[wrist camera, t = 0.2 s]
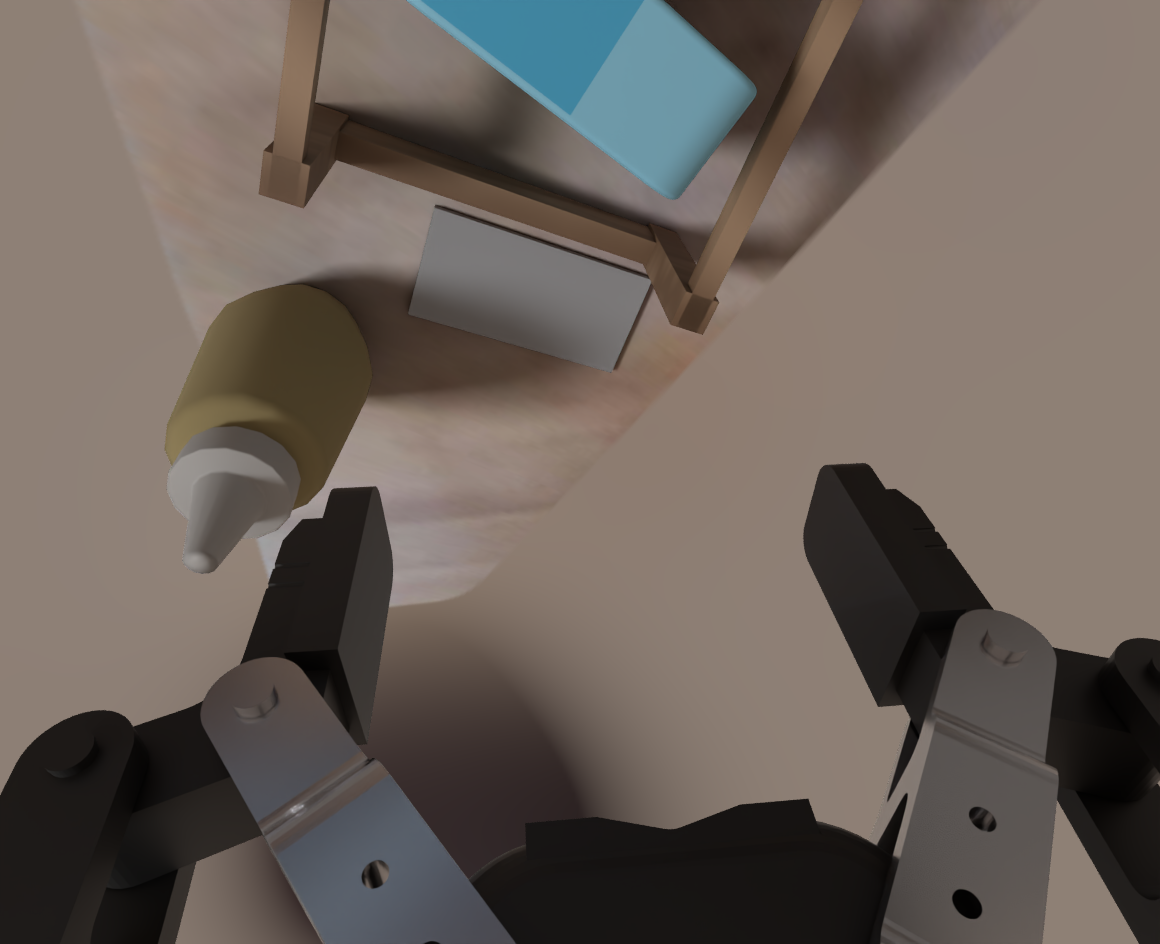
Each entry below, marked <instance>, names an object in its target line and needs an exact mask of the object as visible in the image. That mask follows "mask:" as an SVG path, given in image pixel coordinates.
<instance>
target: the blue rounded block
mask: <svg viewBox="0 0 1160 944" xmlns="http://www.w3.org/2000/svg"><path fill="white" fill-rule="evenodd" d="M406 1H408V2H409V3H410V4H411V5H412V6H414V7H415V8H416V9H417V10H419V11H420V12H421V13H423V14H424V15H425V16H426V17H428V18H429V19H430V20H432V21H433V22H434V23H436V24H437V25H438V26H440V27H441V28H442V29H443V30H445V31H446V32H447V33H449V34H450V35H451V36H453V37H454V38H455V39H457V40H458V41H459V42H461V43H462V44H463V45H464V46H466V47H467V48H468V49H470V50H471V51H472V52H474V53H475V54H476V55H478V56H479V57H480V58H481V59H483V60H484V61H485V62H487V63H488V64H489V65H491V66H492V67H493V68H495V69H496V70H497V71H499V72H500V73H501V74H502V75H504V76H505V77H506V78H508V79H509V80H510V81H512V82H513V83H514V84H516V85H517V86H518V87H519V88H521V89H522V90H523V91H525V92H526V93H527V94H529V95H530V96H531V97H533V98H534V99H535V100H537V101H538V102H539V103H540V104H542V105H543V106H544V107H546V108H547V109H548V110H550V111H551V112H552V113H554V114H555V115H556V116H558V117H559V118H560V119H561V120H563V121H564V122H565V123H567V124H568V125H569V126H571V127H572V128H573V129H575V130H576V131H577V132H578V133H580V134H581V135H582V136H584V137H585V138H586V139H588V140H589V141H590V142H592V143H593V144H594V145H596V146H597V147H598V148H599V149H601V150H602V151H603V152H605V153H606V154H607V155H609V156H610V157H611V158H613V159H614V160H615V161H617V162H618V163H619V164H620V165H622V166H623V167H624V168H626V169H627V170H628V171H630V172H631V173H632V174H634V175H635V176H636V177H637V178H639V179H640V180H641V181H643V182H644V183H645V184H647V185H648V186H649V187H651V188H652V189H653V190H655V191H656V192H658V193H659V194H661V195H663V196H664V197H666V198H668V199H671V200H675V199H678V198H679V197H680V196H681V195H682V193H683V192H684V191H685V189H686V188H687V187H688V185H689V184H690V183H691V181H692V180H693V179H694V177H695V176H696V175H697V173H698V172H699V171H700V169H701V168H702V167H703V165H704V164H705V163H706V162H707V160H708V159H709V158H710V156H711V155H712V154H713V152H714V151H715V150H716V148H717V147H718V146H719V144H720V143H721V142H722V140H723V139H724V138H725V136H726V135H727V134H728V132H729V131H730V130H731V129H732V127H733V126H734V125H735V123H736V122H737V121H738V119H739V118H740V117H741V115H742V114H743V113H744V111H745V110H746V109H747V107H748V106H749V105H750V103H751V102H752V101H753V99H754V98H755V96H756V94H757V90H756V87H755V85H754V84H753V82H752V81H751V80H750V79H749V78H748V77H747V76H746V75H745V74H744V73H743V72H742V71H741V70H740V69H739V68H738V67H736V66H735V65H734V64H733V63H732V62H731V61H730V60H729V59H728V58H727V57H726V56H724V55H723V54H722V53H721V52H720V51H719V50H718V49H717V48H716V47H715V46H713V45H712V44H711V43H710V42H709V41H708V40H707V39H706V38H705V37H704V36H703V35H701V34H700V33H699V32H698V31H697V30H696V29H695V28H694V27H693V26H692V25H691V24H689V23H688V22H687V21H686V20H685V19H684V18H683V17H682V16H681V15H680V14H678V13H677V12H676V11H675V10H674V9H673V8H672V7H671V6H670V5H669V4H668V3H666V2H665V1H664V0H406Z"/></svg>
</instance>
